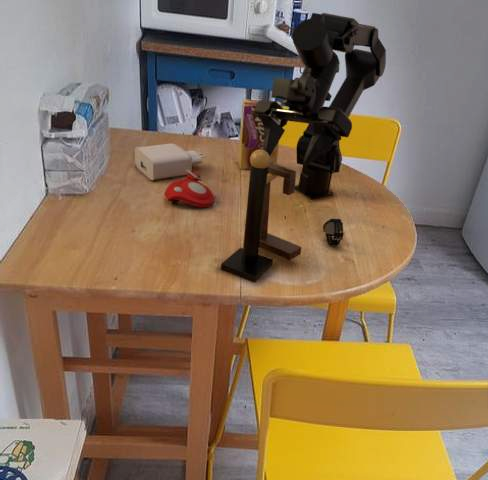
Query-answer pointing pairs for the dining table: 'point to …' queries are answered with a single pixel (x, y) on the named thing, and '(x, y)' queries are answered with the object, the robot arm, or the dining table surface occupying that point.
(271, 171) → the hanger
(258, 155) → the coat rack
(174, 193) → the tracker holder
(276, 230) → the dining table surface
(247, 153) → the candy box
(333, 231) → the smartwatch
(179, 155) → the charger
